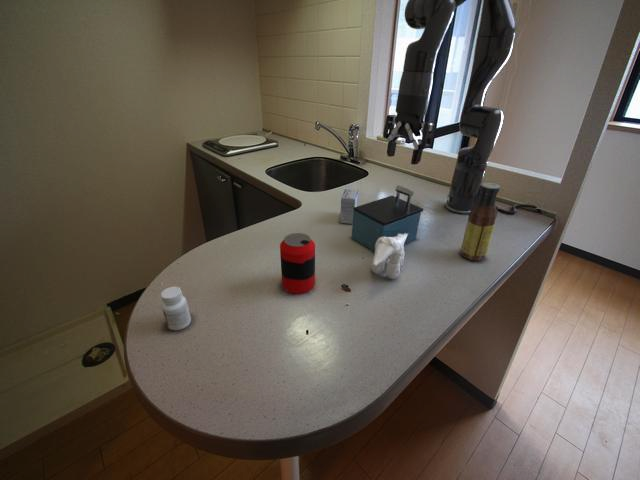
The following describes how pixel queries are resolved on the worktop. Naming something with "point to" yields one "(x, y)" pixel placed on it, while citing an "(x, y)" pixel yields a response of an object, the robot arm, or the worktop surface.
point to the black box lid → (390, 208)
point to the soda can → (297, 263)
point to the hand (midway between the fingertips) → (402, 159)
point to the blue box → (382, 229)
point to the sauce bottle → (480, 223)
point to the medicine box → (348, 205)
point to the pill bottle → (175, 308)
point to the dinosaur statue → (389, 255)
